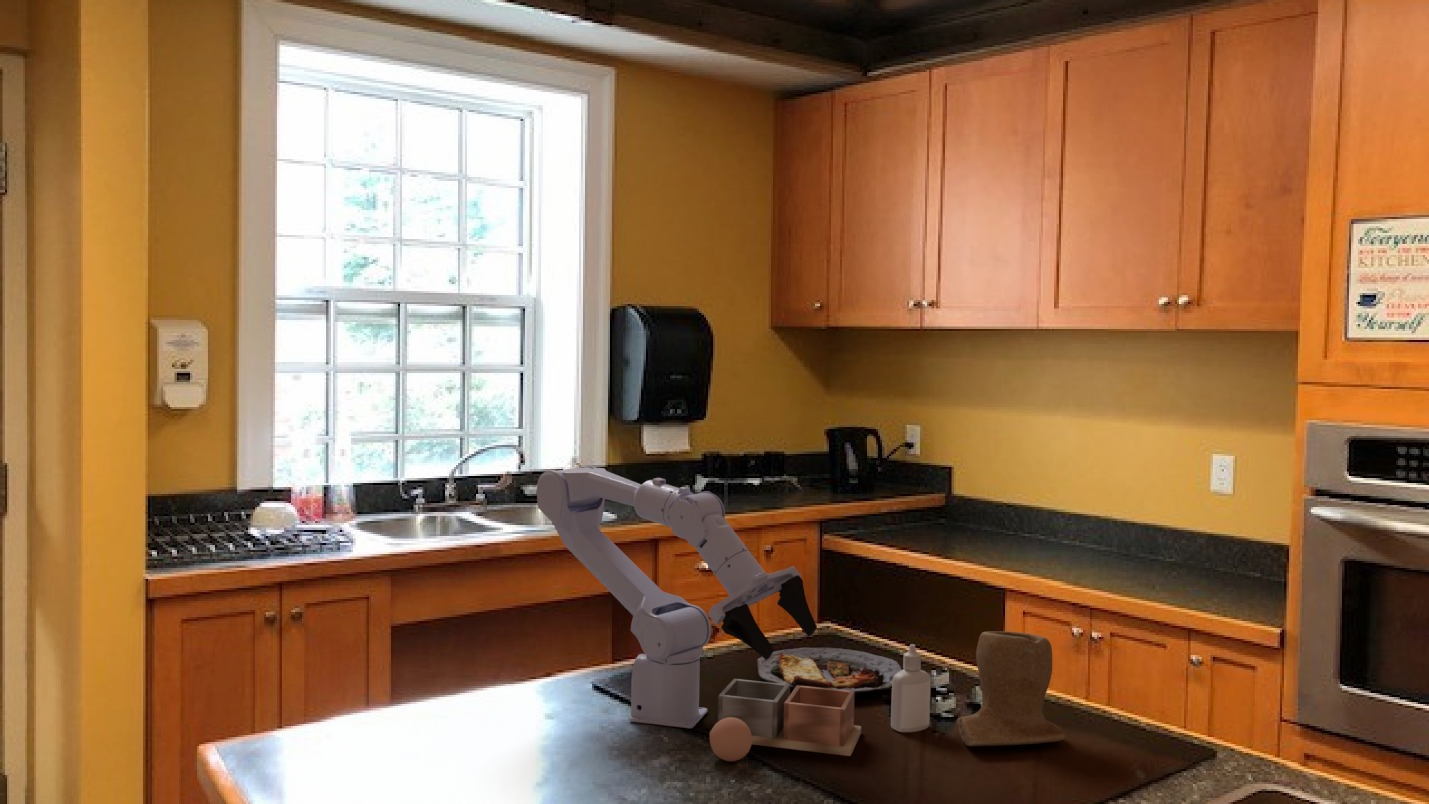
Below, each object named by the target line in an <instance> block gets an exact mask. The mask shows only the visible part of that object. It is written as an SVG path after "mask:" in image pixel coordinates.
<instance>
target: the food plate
mask: <svg viewBox="0 0 1429 804" xmlns="http://www.w3.org/2000/svg"><path fill="white" fill-rule="evenodd" d="M756 661H757V671H758V674H757V675H759V677H760V678H761V679H763V681H764V682H771V683H780V684H790V689H793V690H794V689H795V687H796V686H797V685H799V686H809V687H818V688H828V689H837V690H847V691H855V694H856V693H857V694H858V693H859V694H860V693H861V694H862V693H868V692H874V691H877V690H878V691H886V690H888V689H892V688H891V687H892V680H893V677H894V675H895V674H897V673H898V672H899V671H901V670H903V669H902V668H901V665H900V663H898V661H897V660H894V659H892V658H889V657H885V656H882V655H881V656H880V655H876V654H873V653H869V652H865V651H860V650H852V649H844V648H840V647H838V648H836V647H832V646H831V647H829V646H828V647H822V646H821V647H799V648H791V649H782V650H776V651H773V653H772V655H771V656H770V658H768V659H767V660H765V659H764V658H763V657H762V656H760V657H759V658H757V659H756ZM818 665H825V666H827V667H826V670H825V669H822V670H821V669H820V668H819V667H818ZM851 668H854V669H855V670H857V669H858V670H860V671H859V672H857V671H850V669H851Z"/></svg>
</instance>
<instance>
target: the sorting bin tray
mask: <svg viewBox="0 0 1429 804" xmlns="http://www.w3.org/2000/svg"><path fill="white" fill-rule="evenodd" d="M855 694H856V693H855V691H847V690H837V689H828V688H818V687H809V686H799V685H797V686H796V687H795V689H793V690H792V692H791V688H790V684H780V683H771V682H768V681H762V680H761V681H760V680H751V679H750V680H749V679H740V678H733V679H732V680H731V682H730V683H729V684H727V686H726V687H725V688H724V689H723V690H722V691H721V692H720V693H719V695H718V697H717V698H718V702H717V703H718V704H717V705H718V706H717V722H719V721H720V720H722V719H724V718H728V717H733V718H738V719H740V720H742V721H743V722H744V723H746V725H747V726H748V727H749V729H750V731H751V735H752V744H751V745H754V746H755V745H756V746H761V747H762V746H764V747H771V748H781V749H786V750H787V749H788V750H789V749H790V750H797V751H803V752H805V751H806V752H812V753H821V754H830V755H839V756H846V757H851V756H852V754H853V753H854V749H855V747H856V745H857V743H858V740H859V739H860V736H861V734H862V726H861V725H855V724H854V723H855ZM711 731H712V729H711V730H710V731H709V735H710V734H711Z"/></svg>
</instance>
